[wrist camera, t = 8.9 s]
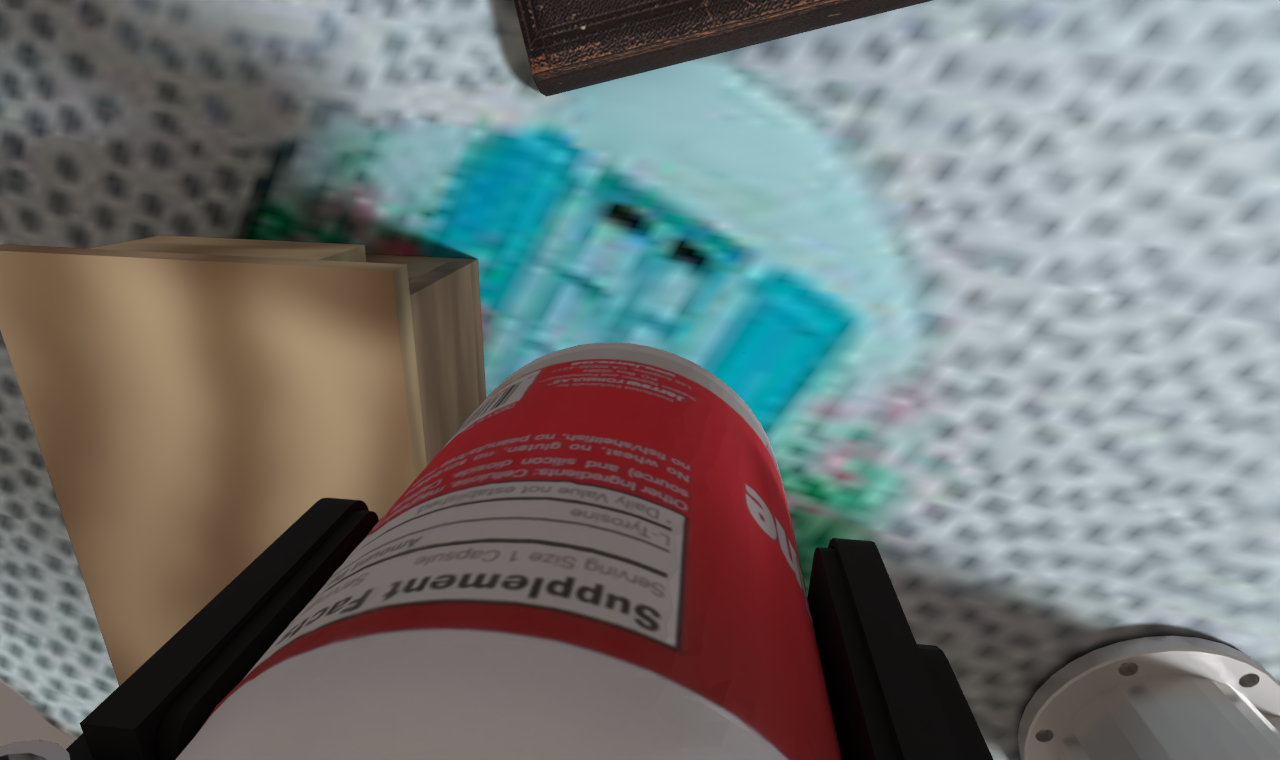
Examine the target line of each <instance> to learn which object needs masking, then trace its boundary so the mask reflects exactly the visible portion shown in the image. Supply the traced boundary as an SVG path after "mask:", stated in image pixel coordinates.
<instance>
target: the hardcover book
mask: <svg viewBox="0 0 1280 760" xmlns="http://www.w3.org/2000/svg"><path fill="white" fill-rule="evenodd" d="M928 1H932V0H514V2H515V6H516V10H517V14H518V18H519V22H520V26H521V30H522V34H523V39H524V43H525V47H526V51H527V55H528V59H529V63H530V67H531V71H532V75H533V78H534V80H535V83H536V85H537V87H538V89H539V91H540V93H542V94H544V95H545V96H550V95H554V94H558V93H562V92H566V91H570V90H574V89H578V88H582V87H586V86H590V85H594V84H598V83H602V82H606V81H610V80H614V79H618V78H622V77H626V76H630V75H634V74H638V73H642V72H647V71H651V70H655V69H659V68H663V67H667V66H671V65H675V64H679V63H683V62H687V61H691V60H695V59H699V58H703V57H707V56H711V55H715V54H719V53H723V52H727V51H731V50H735V49H739V48H743V47H747V46H751V45H755V44H759V43H763V42H767V41H771V40H775V39H779V38H783V37H787V36H791V35H795V34H799V33H803V32H807V31H811V30H815V29H819V28H823V27H827V26H831V25H835V24H839V23H843V22H847V21H851V20H855V19H859V18H863V17H867V16H871V15H875V14H879V13H883V12H887V11H891V10H896V9H900V8H904V7H908V6H912V5H916V4H920V3H924V2H928Z"/></svg>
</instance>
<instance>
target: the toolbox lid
mask: <svg viewBox="0 0 1280 760" xmlns="http://www.w3.org/2000/svg"><path fill="white" fill-rule="evenodd" d="M0 330H1V333H2V336H3V339H4V342H5V345H6V348H7V351H8V354H9V357H10V360H11V363H12V366H13V369H14V372H15V375H16V378H17V381H18V384H19V387H20V390H21V393H22V396H23V399H24V402H25V405H26V408H27V411H28V414H29V417H30V420H31V423H32V426H33V429H34V432H35V435H36V438H37V441H38V444H39V447H40V450H41V453H42V456H43V459H44V462H45V465H46V468H47V471H48V474H49V477H50V480H51V483H52V486H53V489H54V492H55V495H56V498H57V501H58V504H59V507H60V510H61V513H62V516H63V519H64V522H65V525H66V528H67V531H68V534H69V537H70V540H71V543H72V546H73V549H74V552H75V555H76V558H77V561H78V564H79V567H80V570H81V573H82V576H83V579H84V582H85V585H86V588H87V591H88V594H89V597H90V600H91V603H92V606H93V609H94V612H95V615H96V618H97V621H98V624H99V627H100V630H101V633H102V636H103V639H104V642H105V645H106V648H107V651H108V654H109V657H110V660H111V663H112V666H113V669H114V672H115V675H116V678H117V681H118V684H119V686H120V685H121V684H123V683H124V682H125V681H126V680H127V679H128V678H129V677H130V676H131V675H132V674H133V673H134V672H135V671H136V670H137V669H139V668H140V667H141V666H142V665H143V664H144V663H145V662H146V661H147V660H148V659H149V658H150V657H151V656H152V655H153V654H155V653H156V652H157V651H158V650H159V649H160V648H161V647H162V646H163V645H164V644H165V643H166V642H167V641H168V640H170V639H171V638H172V637H173V636H174V635H175V634H176V633H177V632H178V631H179V630H180V629H181V628H182V627H183V626H184V625H186V624H187V623H188V622H189V621H190V620H191V619H192V618H193V617H194V616H195V615H196V614H197V613H198V612H199V611H201V610H202V609H203V608H204V607H205V606H206V605H207V604H208V603H209V602H210V601H211V600H212V599H213V598H214V597H215V596H217V595H218V594H219V593H220V592H221V591H222V590H223V589H224V588H225V587H226V586H227V585H228V584H229V583H230V582H231V581H233V580H234V579H235V578H236V577H237V576H238V575H239V574H240V573H241V572H242V571H243V570H244V569H245V568H246V567H248V566H249V565H250V564H251V563H252V562H253V561H254V560H255V559H256V558H257V557H258V556H259V555H260V554H261V553H262V552H264V551H265V550H266V549H267V548H268V547H269V546H270V545H271V544H272V543H273V542H274V541H275V540H276V539H277V538H279V537H280V536H281V535H282V534H283V533H284V532H285V531H286V530H287V529H288V528H289V527H290V526H291V525H292V524H293V523H295V522H296V521H297V520H298V519H299V518H300V517H301V516H302V515H303V514H304V513H305V512H306V511H307V510H308V509H309V508H311V507H312V506H313V505H314V504H315V503H316V502H317V501H319V500H320V499H322V498H339V499H351V500H361V501H363V502H365V503H366V505H367V507H368V510H369V511H373V512H375V513H376V514H377V516H378V519H379V520H380V519H381V518H383V517H384V516H385V514H386V513H387V512H388V511H389V509H390V508H391V507H392V506H393V505H394V504H395V502H396V501H397V500H398V499H399V498H400V497H401V496H402V494H403V493H404V492H405V491H406V490H407V489H408V487H409V486H410V485H411V484H412V483H413V481H414V480H415V479H416V478H417V477H418V476H419V475H420V473H421V472H422V471H423V470H424V469H425V468H426V467H427V463H426V453H425V443H424V433H423V423H422V413H421V403H420V392H419V382H418V372H417V362H416V352H415V342H414V332H413V322H412V311H411V301H410V291H409V281H408V271H407V264H389V263H368V262H366V254H365V246H364V245H356V244H335V243H314V242H292V241H271V240H250V239H228V238H207V237H186V236H164V235H160V236H154V237H149V238H143V239H138V240H132V241H127V242H121V243H116V244H110V245H105V246H99V247H94V248H89V249H84V248H63V247H43V246H23V245H0Z"/></svg>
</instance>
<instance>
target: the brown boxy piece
mask: <svg viewBox="0 0 1280 760" xmlns="http://www.w3.org/2000/svg"><path fill="white" fill-rule="evenodd" d="M366 262H368V263H389V264H407V271H408V281H409V291H410V301H411V311H412V322H413V332H414V342H415V352H416V362H417V372H418V382H419V392H420V403H421V413H422V423H423V433H424V443H425V453H426V463H427V465H428V464H429V463H430V462H431V461H432V459H433V458H434V457H435V456H436V455H437V454H438V453H439V452H440V451H441V450H442V448H443V447H444V446H445V445H446V444H447V443H448V441H449V440H450V439H451V438H452V437H453V436H454V435H455V434H456V432H457V431H458V430H459V429H460V428H461V426H462V425H463V424H464V422H465V421H466V420H467V419H468V418H469V417H470V416H471V415H472V413H473V412H474V411H475V410H476V409H477V408H478V406H479V405H480V404H481V403H482V402H483V401H484V400H485V399H486V389H485V372H484V355H483V338H482V322H481V305H480V288H479V271H478V259H462V258H441V257H420V256H400V255H379V254H366Z"/></svg>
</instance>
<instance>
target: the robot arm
mask: <svg viewBox="0 0 1280 760" xmlns="http://www.w3.org/2000/svg"><path fill="white" fill-rule="evenodd" d="M378 521H379V519H378V516H377V514H376V513H375V512H373V511H369V510H368V507H367V505H366V503H365V502H363V501H361V500H351V499H339V498H322V499H320V500H319V501H317V502H316V503H315V504H314V505H313V506H312V507H311V508H309V509H308V510H307V511H306V512H305V513H304V514H303V515H302V516H301V517H300V518H299V519H298V520H297V521H296V522H295V523H293V524H292V525H291V526H290V527H289V528H288V529H287V530H286V531H285V532H284V533H283V534H282V535H281V536H280V537H279V538H277V539H276V540H275V541H274V542H273V543H272V544H271V545H270V546H269V547H268V548H267V549H266V550H265V551H264V552H262V553H261V554H260V555H259V556H258V557H257V558H256V559H255V560H254V561H253V562H252V563H251V564H250V565H249V566H248V567H246V568H245V569H244V570H243V571H242V572H241V573H240V574H239V575H238V576H237V577H236V578H235V579H234V580H233V581H231V582H230V583H229V584H228V585H227V586H226V587H225V588H224V589H223V590H222V591H221V592H220V593H219V594H218V595H217V596H215V597H214V598H213V599H212V600H211V601H210V602H209V603H208V604H207V605H206V606H205V607H204V608H203V609H202V610H201V611H199V612H198V613H197V614H196V615H195V616H194V617H193V618H192V619H191V620H190V621H189V622H188V623H187V624H186V625H184V626H183V627H182V628H181V629H180V630H179V631H178V632H177V633H176V634H175V635H174V636H173V637H172V638H171V639H170V640H168V641H167V642H166V643H165V644H164V645H163V646H162V647H161V648H160V649H159V650H158V651H157V652H156V653H155V654H153V655H152V656H151V657H150V658H149V659H148V660H147V661H146V662H145V663H144V664H143V665H142V666H141V667H140V668H139V669H137V670H136V671H135V672H134V673H133V674H132V675H131V676H130V677H129V678H128V679H127V680H126V681H125V682H124V683H123V684H121V685H120V686H119V687H118V688H117V689H116V690H115V691H114V692H113V693H112V694H111V695H110V696H109V697H108V698H106V699H105V700H104V701H103V702H102V703H101V704H100V705H99V706H98V707H97V708H96V709H95V710H94V711H93V712H92V713H90V714H89V715H88V716H87V717H86V718H85V719H84V720H83V721H82V722H81V723H80V725H81V728H82V731H83V734H82V735H81V736H80V737H79V738H78V739H77V740H75V741H74V742H73V743H72V744H71V745H70V746H69V747H68V748H67V749H66V750H65V749H64V748H63V747H62V746H60V745H59V744H58V743H53V742H48V741H43V740H32V741H21V742H14V743H10V744H6V745H3V746H0V760H176V758H177V757H178V756H179V755H180V754H181V753H182V751H183V750H184V749H185V748H186V747H187V745H188V744H189V743H190V742H191V741H192V739H193V738H194V737H195V736H196V735H197V733H198V732H199V730H200V729H201V727H202V726H203V725H204V723H205V722H206V720H207V719H208V717H209V716H210V715H211V713H212V712H213V710H214V709H215V707H216V706H217V705H218V704H219V703H220V702H221V701H222V700H223V699H224V698H225V697H226V696H227V695H228V694H229V693H230V692H231V691H232V690H233V689H234V688H235V687H236V686H237V685H238V684H239V683H240V682H241V681H242V680H243V679H244V677H245V676H246V675H247V674H248V673H249V671H250V670H251V669H252V668H253V667H254V666H255V664H256V663H257V662H258V661H259V660H260V658H261V657H262V656H263V655H264V654H265V653H266V651H267V650H268V649H269V648H270V647H271V645H272V644H273V643H274V642H275V641H276V640H277V638H278V637H279V636H280V635H281V634H282V633H283V632H284V631H285V629H286V628H287V627H288V626H289V624H290V623H291V622H292V621H293V620H294V619H295V618H296V617H297V616H298V614H299V613H300V612H301V611H302V610H303V609H304V608H305V607H306V606H307V604H308V603H309V602H310V601H311V600H312V599H313V598H314V596H315V595H316V594H317V593H318V592H319V591H320V590H321V588H322V587H323V586H324V585H325V584H326V583H327V581H328V580H329V579H330V577H331V576H332V575H333V574H334V572H335V571H336V570H337V569H338V568H339V567H340V566H341V565H342V564H343V563H344V562H345V560H346V559H347V558H348V557H349V555H350V554H351V553H352V552H353V551H354V549H355V548H356V547H357V546H358V545H359V544H360V543H361V542H362V541H363V539H364V538H365V537H366V536H367V535H368V534H369V533H370V531H371V530H372V529H373V527H374V526H375V525H376V524H377V522H378ZM808 603H809V608H810V613H811V617H812V620H813V625H814V630H815V635H816V640H817V645H818V649H819V654H820V659H821V664H822V668H823V673H824V677H825V682H826V687H827V691H828V696H829V701H830V705H831V710H832V714H833V719H834V724H835V728H836V733H837V737H838V742H839V747H840V751H841V756H842V760H993V758H992V756H991V753H990V751H989V749H988V747H987V745H986V743H985V740H984V738H983V736H982V734H981V732H980V729H979V727H978V725H977V723H976V721H975V718H974V716H973V714H972V712H971V710H970V707H969V705H968V703H967V701H966V699H965V696H964V694H963V692H962V690H961V688H960V685H959V683H958V681H957V679H956V677H955V675H954V672H953V670H952V668H951V666H950V664H949V661H948V659H947V658H946V656H945V654H944V653H943V651H942V650H941V649H940V648H938V647H937V646H932V645H921V644H916V642H915V639H914V637H913V634H912V632H911V629H910V627H909V625H908V622H907V620H906V617H905V615H904V612H903V610H902V607H901V605H900V602H899V600H898V598H897V595H896V593H895V590H894V588H893V585H892V583H891V580H890V578H889V576H888V573H887V571H886V568H885V566H884V563H883V561H882V558H881V556H880V553H879V551H878V549H877V546H876V545H875V543H874V542H872V541H862V540H850V539H837V538H832V539H831V541H830V543H829V546H828V548H819V547H817V548H816V550H815V553H814V558H813V565H812V572H811V579H810V585H809V592H808ZM1017 741H1018V747H1019V753H1020V758H1021V760H1280V683H1279V682H1278V681H1277V680H1276V679H1275V678H1274V677H1273V676H1272V675H1271V674H1270V673H1269V672H1268V671H1266V670H1265V669H1264V668H1263V667H1262V666H1261V665H1260V664H1259V663H1257V662H1256V661H1254V660H1253V659H1252V658H1250V657H1249V656H1247V655H1246V654H1245V653H1243V652H1240V651H1238V650H1236V649H1234V648H1231V647H1229V646H1227V645H1225V644H1222V643H1218V642H1214V641H1210V640H1206V639H1201V638H1195V637H1183V636H1155V637H1143V638H1137V639H1132V640H1127V641H1122V642H1117V643H1114V644H1111V645H1108V646H1105V647H1102V648H1099V649H1096V650H1094V651H1092V652H1090V653H1088V654H1086V655H1084V656H1082V657H1079V658H1077V659H1075V660H1073V661H1072V662H1070V663H1069V664H1067V665H1066V666H1064V667H1063V668H1062V669H1060V670H1059V671H1057V672H1056V673H1055V674H1053V675H1052V676H1051V677H1050V678H1049V679H1048V680H1047V681H1046V682H1045V683H1044V684H1043V685H1042V686H1041V687H1040V688H1039V689H1038V690H1037V691H1036V693H1035V694H1034V696H1033V697H1032V699H1031V700H1030V702H1029V703H1028V705H1027V706H1026V708H1025V711H1024V713H1023V716H1022V718H1021V721H1020V724H1019V732H1018V740H1017Z"/></svg>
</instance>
